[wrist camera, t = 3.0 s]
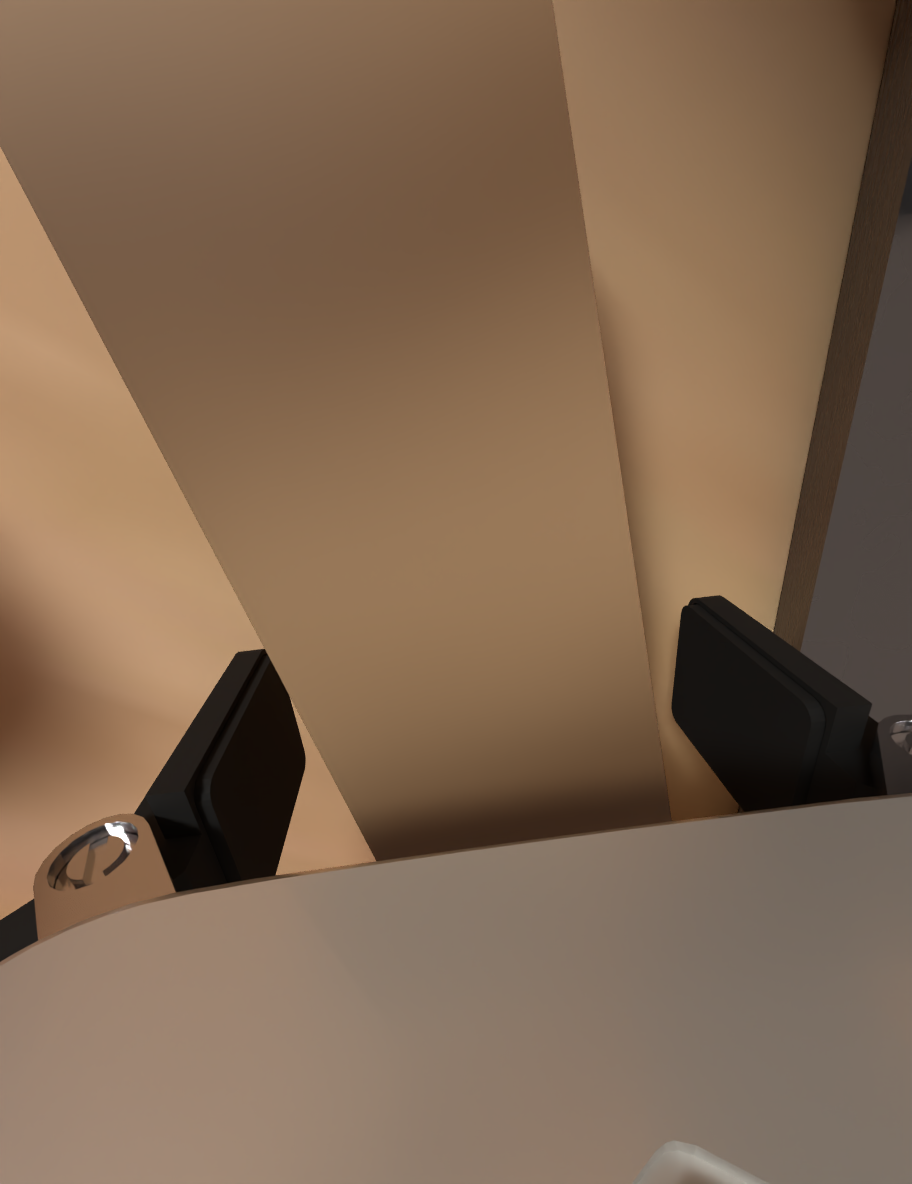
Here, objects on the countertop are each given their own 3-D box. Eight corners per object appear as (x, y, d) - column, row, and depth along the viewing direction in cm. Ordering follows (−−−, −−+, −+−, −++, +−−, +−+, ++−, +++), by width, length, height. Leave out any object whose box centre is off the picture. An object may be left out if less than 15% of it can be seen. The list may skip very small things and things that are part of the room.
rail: (181, 132, 9) (-237, -305, 3) (431, 44, 8) (466, -587, 3) (494, 910, 17) (532, 1155, 12) (618, 877, 17) (713, 1110, 12)
